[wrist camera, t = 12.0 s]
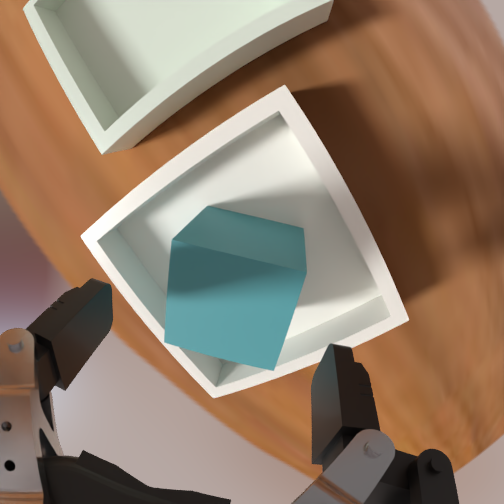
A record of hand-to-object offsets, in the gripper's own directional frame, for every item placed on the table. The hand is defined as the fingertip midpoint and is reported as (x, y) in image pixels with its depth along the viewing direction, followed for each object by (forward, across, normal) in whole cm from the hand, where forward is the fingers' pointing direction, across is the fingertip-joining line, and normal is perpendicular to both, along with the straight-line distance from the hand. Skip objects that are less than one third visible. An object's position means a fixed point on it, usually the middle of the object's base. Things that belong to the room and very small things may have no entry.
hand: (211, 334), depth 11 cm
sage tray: (+8, +7, -13) cm, 17 cm away
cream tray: (+7, 0, 0) cm, 7 cm away
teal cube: (+7, 0, 0) cm, 7 cm away
